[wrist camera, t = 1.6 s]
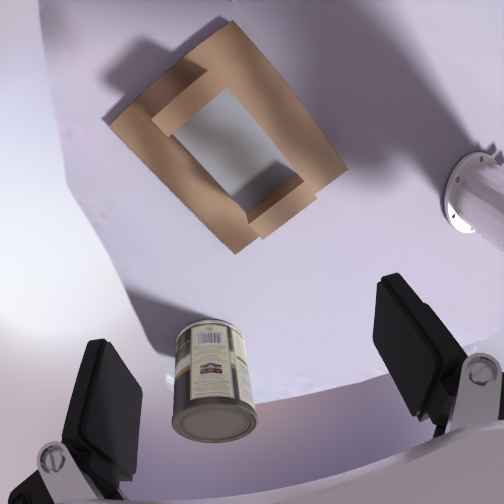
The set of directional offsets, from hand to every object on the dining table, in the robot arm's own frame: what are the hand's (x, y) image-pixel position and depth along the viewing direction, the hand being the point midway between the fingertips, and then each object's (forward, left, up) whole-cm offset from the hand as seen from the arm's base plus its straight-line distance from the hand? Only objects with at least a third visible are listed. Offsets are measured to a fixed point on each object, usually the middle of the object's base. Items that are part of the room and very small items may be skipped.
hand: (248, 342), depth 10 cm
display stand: (-2, -1, -26) cm, 26 cm away
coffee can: (+19, +19, -26) cm, 38 cm away
